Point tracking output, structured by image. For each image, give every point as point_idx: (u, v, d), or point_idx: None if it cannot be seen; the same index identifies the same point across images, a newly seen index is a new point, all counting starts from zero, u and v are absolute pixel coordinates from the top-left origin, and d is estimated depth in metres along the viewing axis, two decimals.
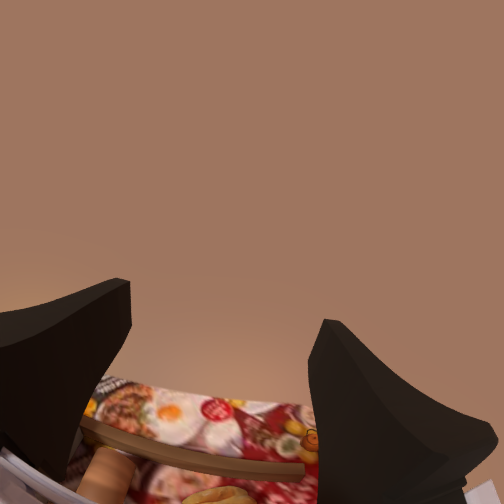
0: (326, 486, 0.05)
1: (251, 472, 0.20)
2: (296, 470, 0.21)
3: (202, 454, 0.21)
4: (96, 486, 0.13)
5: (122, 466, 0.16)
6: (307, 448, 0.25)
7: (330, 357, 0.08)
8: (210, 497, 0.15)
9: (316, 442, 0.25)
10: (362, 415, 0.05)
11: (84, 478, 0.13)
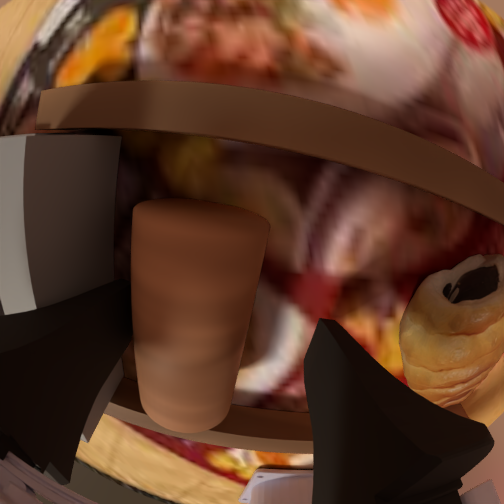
0: (320, 486, 0.05)
1: None
2: None
3: (480, 174, 0.07)
4: (145, 360, 0.08)
5: (190, 280, 0.06)
6: None
7: (325, 357, 0.08)
8: (480, 325, 0.07)
9: None
10: (356, 415, 0.05)
11: None
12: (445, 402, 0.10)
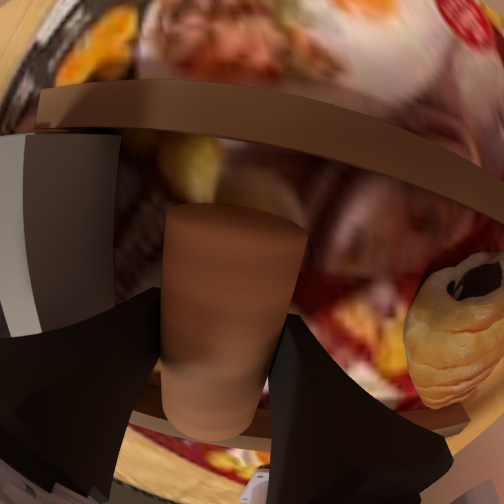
0: (272, 486, 0.05)
1: None
2: None
3: (481, 174, 0.07)
4: (210, 385, 0.07)
5: (276, 290, 0.07)
6: None
7: (283, 351, 0.08)
8: (484, 322, 0.07)
9: None
10: (300, 414, 0.05)
11: (167, 353, 0.08)
12: (449, 400, 0.10)
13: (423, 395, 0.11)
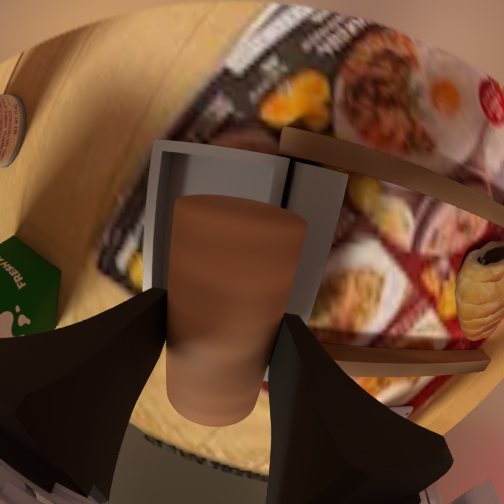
0: (272, 486, 0.05)
1: None
2: None
3: (493, 203, 0.14)
4: (214, 367, 0.08)
5: (278, 273, 0.07)
6: None
7: (283, 351, 0.08)
8: (498, 276, 0.14)
9: None
10: (300, 414, 0.05)
11: (173, 336, 0.08)
12: (482, 332, 0.17)
13: (467, 327, 0.17)
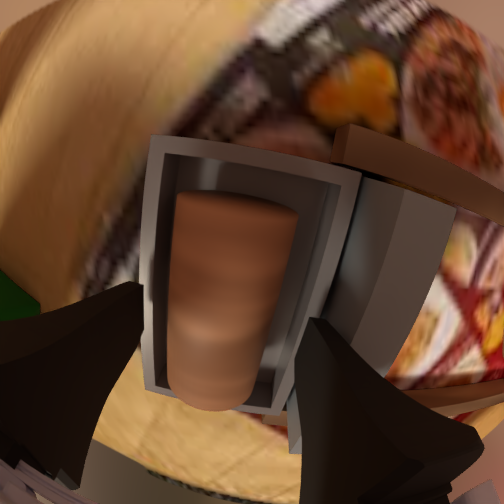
0: (307, 487, 0.05)
1: None
2: None
3: None
4: (204, 348, 0.09)
5: (263, 260, 0.08)
6: None
7: (313, 355, 0.08)
8: None
9: None
10: (341, 415, 0.05)
11: (171, 316, 0.09)
12: None
13: None
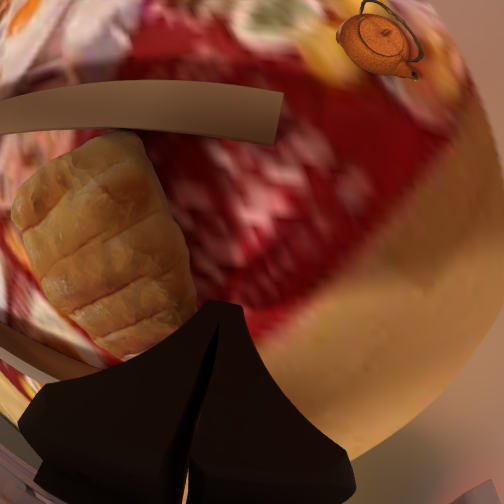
0: None
1: (102, 126, 0.07)
2: (242, 120, 0.07)
3: (15, 101, 0.06)
4: None
5: None
6: (354, 57, 0.07)
7: (216, 340, 0.08)
8: (26, 215, 0.07)
9: (386, 49, 0.06)
10: None
11: None
12: (122, 352, 0.09)
13: None
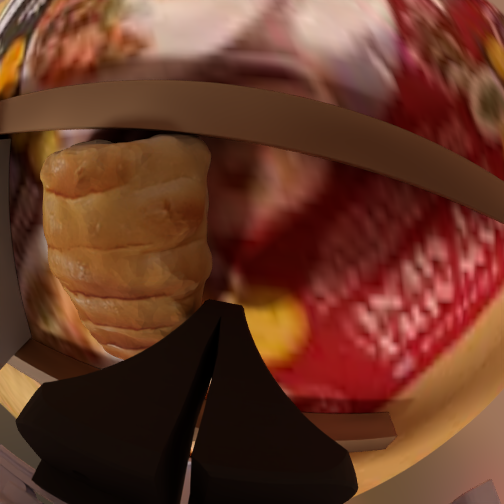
0: None
1: (423, 186, 0.07)
2: None
3: (280, 99, 0.07)
4: None
5: None
6: None
7: (217, 340, 0.08)
8: (62, 182, 0.06)
9: None
10: None
11: None
12: (107, 340, 0.09)
13: (76, 308, 0.10)
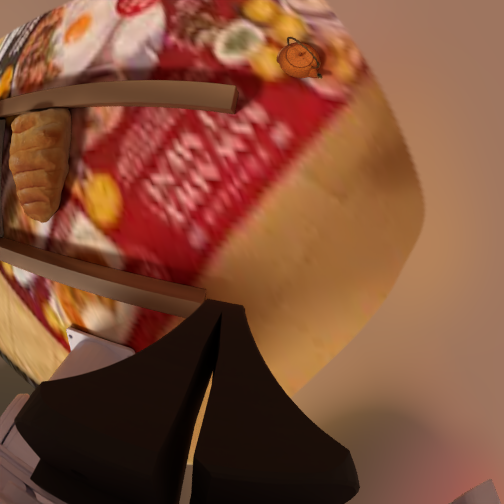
0: None
1: (146, 102, 0.14)
2: (216, 99, 0.14)
3: (88, 86, 0.14)
4: None
5: None
6: (284, 70, 0.15)
7: (218, 341, 0.08)
8: (17, 127, 0.13)
9: (301, 63, 0.14)
10: None
11: None
12: (24, 201, 0.16)
13: None
